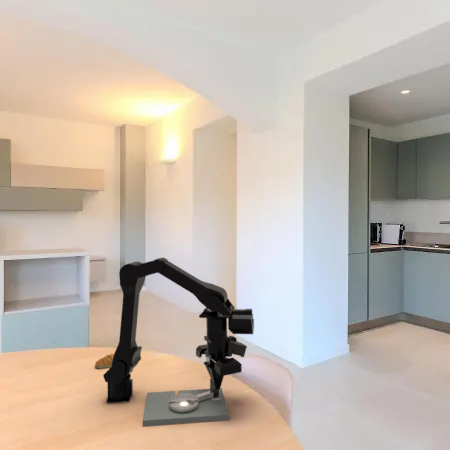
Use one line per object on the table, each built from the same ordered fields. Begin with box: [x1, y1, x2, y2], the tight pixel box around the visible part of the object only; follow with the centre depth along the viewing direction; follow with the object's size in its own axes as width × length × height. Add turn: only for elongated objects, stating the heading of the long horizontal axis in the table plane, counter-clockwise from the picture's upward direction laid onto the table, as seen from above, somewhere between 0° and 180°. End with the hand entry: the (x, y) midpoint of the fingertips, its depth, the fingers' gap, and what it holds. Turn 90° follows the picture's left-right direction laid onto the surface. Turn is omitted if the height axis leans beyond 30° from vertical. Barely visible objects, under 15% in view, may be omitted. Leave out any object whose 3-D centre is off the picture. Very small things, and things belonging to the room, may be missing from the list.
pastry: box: [94, 353, 114, 370], centre depth 140 cm, size 9×7×4 cm
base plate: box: [142, 387, 230, 427], centre depth 108 cm, size 22×16×2 cm
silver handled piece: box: [169, 377, 219, 413], centre depth 108 cm, size 15×8×5 cm, turn 125°
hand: (218, 389), depth 110 cm, fingers closed
